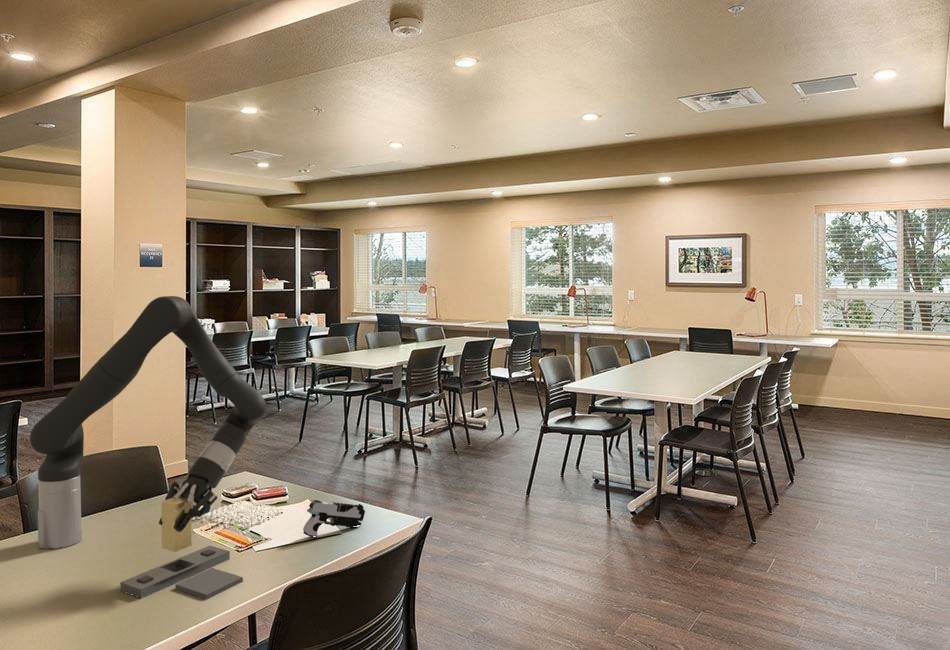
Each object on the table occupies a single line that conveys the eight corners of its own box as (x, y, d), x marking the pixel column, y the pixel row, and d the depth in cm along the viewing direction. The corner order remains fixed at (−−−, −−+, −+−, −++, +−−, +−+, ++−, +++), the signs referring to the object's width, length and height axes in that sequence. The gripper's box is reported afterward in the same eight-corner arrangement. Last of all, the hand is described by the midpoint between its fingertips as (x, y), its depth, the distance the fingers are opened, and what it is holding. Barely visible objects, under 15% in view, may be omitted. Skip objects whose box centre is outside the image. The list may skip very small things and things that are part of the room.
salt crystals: (291, 513, 202) (291, 507, 202) (244, 533, 184) (244, 527, 184) (240, 502, 211) (240, 497, 211) (189, 521, 193) (189, 516, 193)
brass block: (174, 552, 154) (174, 504, 154) (161, 547, 157) (161, 501, 156) (191, 545, 158) (191, 499, 158) (178, 541, 161) (178, 496, 160)
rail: (141, 598, 146) (140, 588, 145) (120, 591, 149) (120, 580, 149) (229, 559, 167) (229, 549, 167) (209, 553, 170) (209, 544, 170)
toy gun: (357, 542, 189) (367, 506, 190) (303, 537, 179) (313, 500, 180) (354, 539, 191) (363, 504, 192) (299, 535, 180) (309, 497, 182)
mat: (206, 599, 146) (206, 594, 146) (175, 588, 150) (175, 584, 150) (242, 581, 155) (242, 577, 154) (212, 571, 159) (212, 567, 159)
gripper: (183, 451, 166) (138, 514, 156) (224, 460, 159) (180, 526, 150) (201, 467, 171) (158, 529, 161) (241, 477, 164) (200, 542, 155)
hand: (169, 527), depth 155 cm, fingers closed on brass block, 4 cm apart
